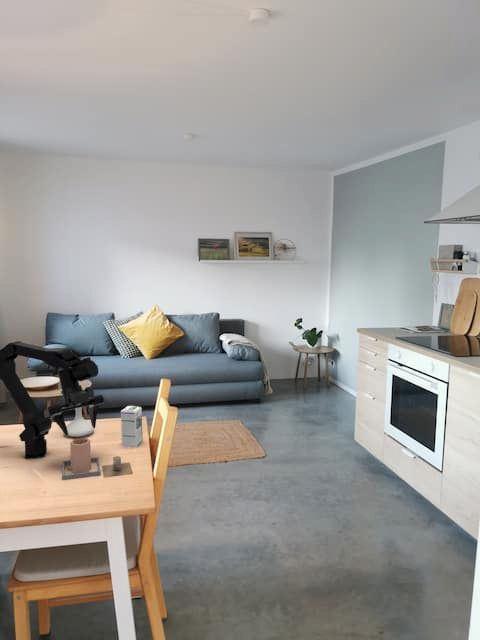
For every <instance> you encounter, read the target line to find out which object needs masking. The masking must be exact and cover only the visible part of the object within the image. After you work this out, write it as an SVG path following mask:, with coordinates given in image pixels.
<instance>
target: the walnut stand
mask: <svg viewBox="0 0 480 640" xmlns="http://www.w3.org/2000/svg"><path fill="white" fill-rule="evenodd" d="M112 461H113V463H112V464H105V465H102V466H101V468H102V477H103V478H111V477H112V478H113V477H120V476H127V475H133V473H134V472H133V469H132V465H131V462H122V458H121V456H120V455H119V456H113V458H112Z"/></svg>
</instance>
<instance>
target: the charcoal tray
mask: <svg viewBox="0 0 480 640" xmlns="http://www.w3.org/2000/svg"><path fill="white" fill-rule="evenodd" d="M91 463H97V469H98V470H94V471H89V472H86V473H77V474H74V473H71V474H65V466H71V459H70V460H63V461H62V470H61V471H62V472H61V475H62V477H61V481H66V480H73V479H74V480H76V479H82V478H91V477H99V476H100V477H101V475H102V474H101V473H102V472H101V471H102V470H101V465H100V457H98V456H97V457H91Z"/></svg>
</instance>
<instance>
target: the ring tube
mask: <svg viewBox="0 0 480 640" xmlns="http://www.w3.org/2000/svg"><path fill="white" fill-rule="evenodd" d="M69 445H70V446H69V447H70V460H71V465H68V467H67V471H71V473H72V474H77V473H86V472H91V471H92V462H91V458H92V452H91V450H92V449H91V448H92V447H91V440H90V439H89V438H86V437H80V438H74V439H72V441H70V442H69Z"/></svg>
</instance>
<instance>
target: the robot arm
mask: <svg viewBox="0 0 480 640" xmlns="http://www.w3.org/2000/svg"><path fill="white" fill-rule="evenodd" d="M18 357H25V358H29V359H32V360H38V361H41V362H43V363H45V365H47V366H49V367H52V368H54V369H55V370H54V372H53V373H52V377H57V376H58V380H59V383H60V384H61V389H60V390H61V391H60V393H61V395H62V397H63V398H64V399H63V400H64V401H63V402H64V403H63V405H61V404H55V405H51V406H48V407H46V408H42V409H40V408H38V407H37V405H36V404H35V402H34V400H33V398H32V397H31V396H30V394H29V392H28V390H27V388H26V387H25V385H24V384H23V383H22V381H21V379H20V377H19V376H18V374H17V372H16V369H17V368H16V367H17V366H16V365H17V364H16V362H15V360H16V359H17V358H18ZM98 366H99V365H97V364H96V362H95V361H94V360H92V359H91V357H90V356H88V357H86V358H83V359H80V357H78V356H77V355H75V354H74V353H73V352H72V350H71V349H70V348H68V347H54V348H53V347H51V348H49V347H44V346H39V345H35V344H29V343H25V342H22V341H18V340H16V341H12V342H9V343H7V344H6V345H5V346H4V347H2V348H1V349H0V380H1V381H2V383H3V384H4V386H5V388H6V389H7V391H8V392H9V394H10V396H11V397H12V399H13V401H14V402H15V404H16V406H17V407H18V409H19V411H20V412H21V414H22V426H23V427H24V430H23V431H21V432H20V434H19V435H18V437H19V440H20V442H24V459H35V458H45V457H46V454H47V453H48V445H47V444H48V442H47V438H45V436H47V435H49V432H50V430H51V429H52V425H53V422H52V420H53V421H54V422H55V423H56V424H57V426H59V428H60V429H61V430H62V432H63V434H64V435H65V436H68V431H67V427H66V426H67V425H66V421H65V415H64V412H66V411H71V410H75V409H76V408H80V407H82V408H84V407H89V408H87V412H88V415H89V418H90V423H91V424H92V427H93V428H94V429H95V428H96V426H97V425H96V424H97V417H98V416H97V415H98V412H99V409H100V407H102V406H103V405H102V404H105V403H106V400H105V397H104V396H103V395H102V394H99V395H96V396H95V393H94V388H93V387H92V386H87V387H85V388H84V389H83V387H82V385H80V382H84V381H87V380H90V379H93V378H96V377H97V376H98V375H99V367H98ZM82 389H83V390H82Z"/></svg>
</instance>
